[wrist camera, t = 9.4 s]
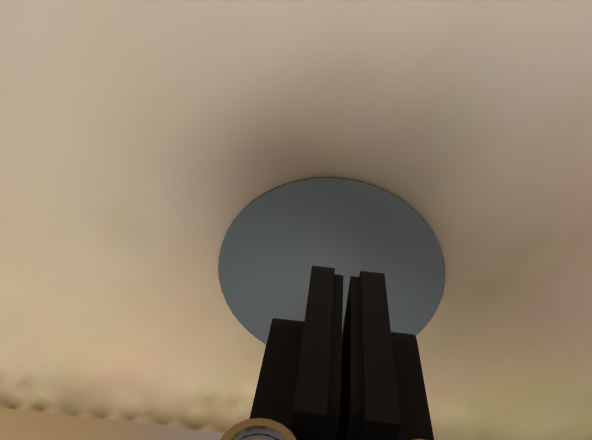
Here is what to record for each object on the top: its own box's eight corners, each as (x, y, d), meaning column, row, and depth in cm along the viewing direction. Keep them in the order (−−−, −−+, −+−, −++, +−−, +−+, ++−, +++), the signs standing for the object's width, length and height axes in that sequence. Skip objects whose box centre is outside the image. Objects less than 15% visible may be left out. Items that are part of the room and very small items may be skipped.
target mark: (482, 315, 29) (482, 317, 29) (297, 385, 34) (297, 387, 34) (372, 131, 24) (373, 132, 24) (174, 244, 29) (173, 246, 29)
